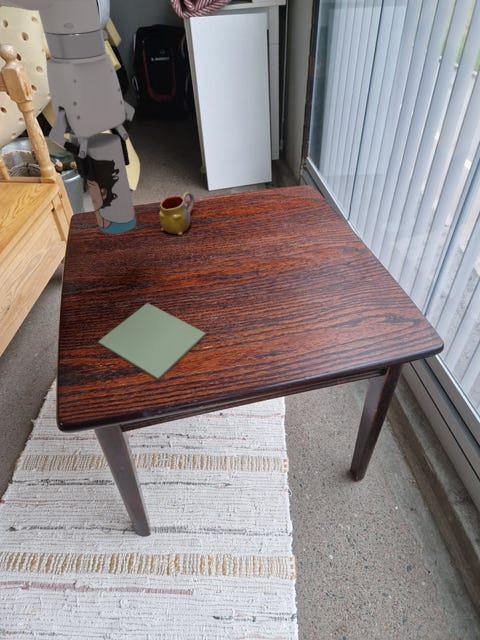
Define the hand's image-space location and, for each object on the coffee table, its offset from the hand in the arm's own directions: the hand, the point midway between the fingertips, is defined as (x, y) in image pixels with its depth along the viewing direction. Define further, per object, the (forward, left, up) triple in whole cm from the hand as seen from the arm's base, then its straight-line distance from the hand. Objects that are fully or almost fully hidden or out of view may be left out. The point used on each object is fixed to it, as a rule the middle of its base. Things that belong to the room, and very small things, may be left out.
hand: (105, 170), depth 70 cm
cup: (0, 0, -10) cm, 10 cm away
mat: (-11, -16, -22) cm, 29 cm away
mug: (+21, +5, -23) cm, 31 cm away
